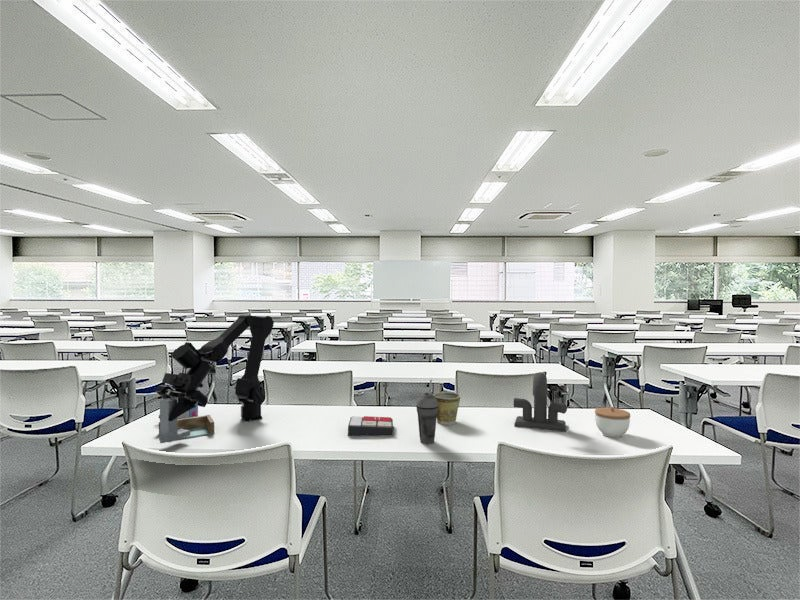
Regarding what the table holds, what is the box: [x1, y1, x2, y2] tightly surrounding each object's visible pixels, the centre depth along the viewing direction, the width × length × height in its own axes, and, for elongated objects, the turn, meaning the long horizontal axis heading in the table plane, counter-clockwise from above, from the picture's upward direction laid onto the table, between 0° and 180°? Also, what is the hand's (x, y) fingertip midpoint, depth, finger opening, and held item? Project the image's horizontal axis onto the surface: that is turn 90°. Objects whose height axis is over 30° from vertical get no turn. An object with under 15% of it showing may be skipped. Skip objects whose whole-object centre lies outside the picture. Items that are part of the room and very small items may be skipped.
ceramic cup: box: [432, 391, 461, 426], centre depth 162 cm, size 13×10×10 cm
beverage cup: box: [415, 379, 439, 445], centre depth 140 cm, size 7×7×20 cm
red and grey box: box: [347, 415, 394, 437], centre depth 151 cm, size 11×4×15 cm
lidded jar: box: [594, 406, 631, 439], centre depth 147 cm, size 11×11×9 cm
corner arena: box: [158, 414, 215, 443], centre depth 148 cm, size 16×10×4 cm, turn 122°
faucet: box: [513, 372, 568, 433], centre depth 153 cm, size 18×16×20 cm
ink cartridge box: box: [168, 384, 199, 419], centre depth 168 cm, size 10×6×14 cm, turn 78°
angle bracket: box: [159, 398, 190, 443], centre depth 137 cm, size 8×4×12 cm, turn 154°
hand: (164, 419), depth 134 cm, fingers closed on angle bracket, 4 cm apart
